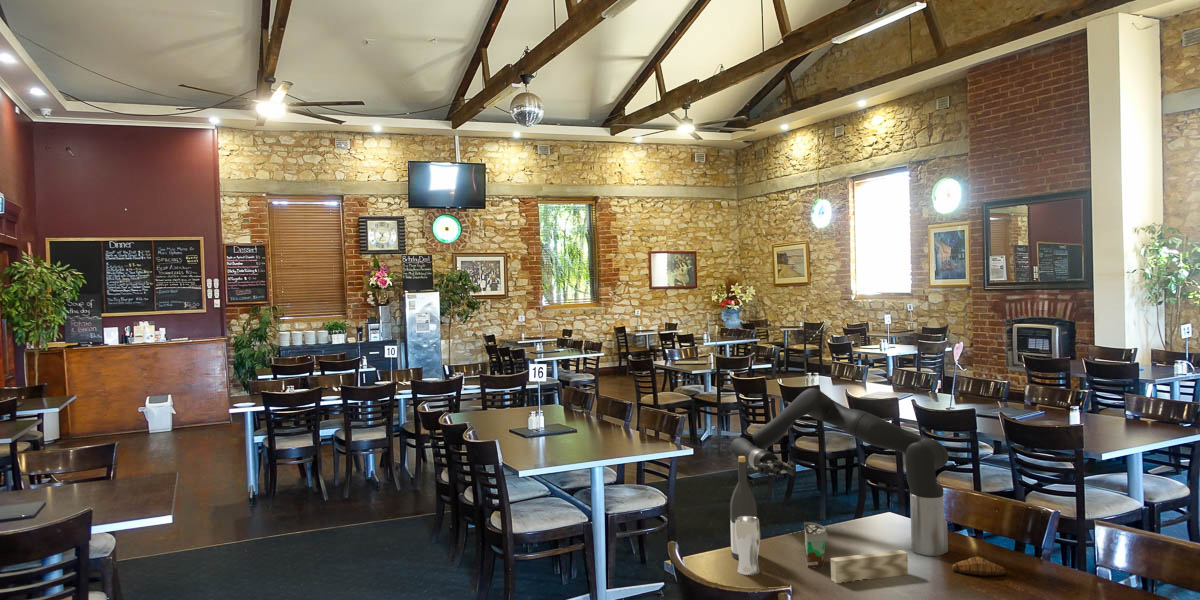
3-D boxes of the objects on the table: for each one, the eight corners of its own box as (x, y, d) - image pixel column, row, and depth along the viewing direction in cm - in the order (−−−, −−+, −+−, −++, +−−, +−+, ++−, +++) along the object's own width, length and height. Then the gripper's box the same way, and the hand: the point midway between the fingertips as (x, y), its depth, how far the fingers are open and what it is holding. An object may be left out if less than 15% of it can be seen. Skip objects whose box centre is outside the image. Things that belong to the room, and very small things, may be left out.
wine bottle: (728, 559, 219) (725, 458, 219) (734, 550, 227) (731, 453, 226) (755, 561, 216) (752, 460, 216) (760, 552, 223) (757, 454, 223)
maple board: (902, 571, 206) (901, 550, 206) (907, 574, 203) (907, 553, 203) (831, 579, 201) (830, 558, 201) (835, 583, 199) (835, 561, 199)
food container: (830, 570, 208) (829, 535, 208) (808, 569, 209) (807, 534, 209) (826, 555, 220) (825, 522, 220) (804, 554, 221) (804, 521, 221)
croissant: (954, 577, 201) (954, 559, 201) (949, 568, 208) (949, 550, 208) (1009, 580, 198) (1009, 562, 198) (1002, 571, 204) (1002, 553, 204)
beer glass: (762, 568, 211) (761, 516, 211) (759, 577, 204) (758, 523, 204) (738, 566, 213) (736, 514, 213) (734, 574, 207) (732, 521, 206)
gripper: (743, 451, 247) (765, 462, 230) (782, 448, 250) (807, 459, 233) (744, 474, 247) (766, 486, 230) (783, 470, 250) (807, 482, 234)
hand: (786, 472), depth 232 cm, fingers open, 4 cm apart
